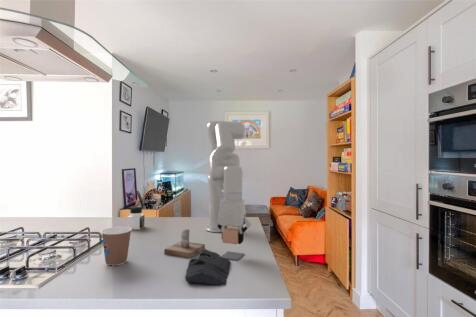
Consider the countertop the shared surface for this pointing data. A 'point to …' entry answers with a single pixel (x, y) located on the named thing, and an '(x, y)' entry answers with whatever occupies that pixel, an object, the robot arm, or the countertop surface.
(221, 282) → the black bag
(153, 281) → the countertop surface
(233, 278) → the countertop surface
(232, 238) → the peach colored cube
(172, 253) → the square brown stand
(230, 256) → the mat
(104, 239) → the coffee cup
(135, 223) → the medicine bottle
